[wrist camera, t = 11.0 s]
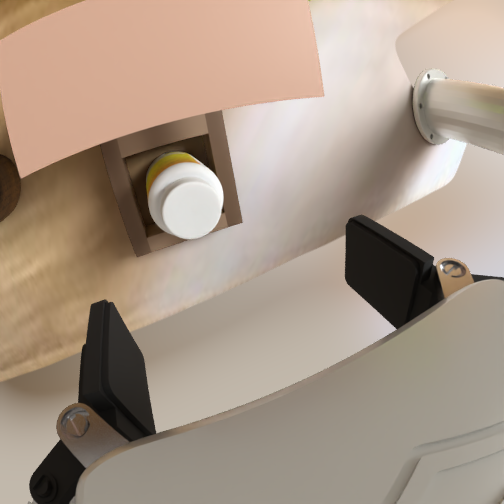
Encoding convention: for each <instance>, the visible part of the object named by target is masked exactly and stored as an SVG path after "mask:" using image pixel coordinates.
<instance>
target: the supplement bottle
mask: <svg viewBox="0 0 504 504" xmlns="http://www.w3.org/2000/svg"><path fill="white" fill-rule="evenodd" d="M146 189H147V198H148V206H149V210H150V214H151V216H152V218H153V220H154V222H155V223H156V224H157V225H158V226H159V227H160V228H161V229H162V230H164V231H165V232H167V233H169V234H172V235H175V236H177V237H179V238H183V239H197V238H200V237H203V236H205V235H206V234H208V233H209V232H210V231H212V230H213V229H214V227H215V226H216V225H217V223H218V221H219V219H220V216H221V210H222V206H223V189H222V186H221V183H220V181H219V179H218V178H217V177H216V175H215V174H214V173H213V172H212V171H211V170H210V169H209V168H207V167H206V166H205V165H203V164H202V163H201V162H200V161H198V160H197V159H196V158H194V157H193V156H191V155H190V154H188V153H185V152H181V151H172V152H167V153H164V154H162V155H161V156H159V157H158V158H157V159H155V160H154V161H153V163H152V164H151V165H150V167H149V169H148V172H147V176H146Z"/></svg>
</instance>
